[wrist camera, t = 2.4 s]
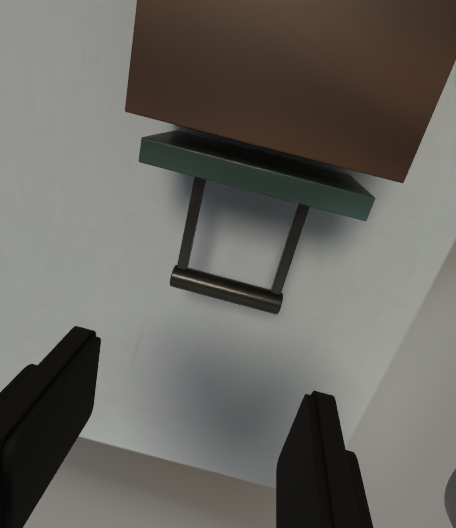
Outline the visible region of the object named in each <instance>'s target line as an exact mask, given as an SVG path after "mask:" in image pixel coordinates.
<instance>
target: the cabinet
mask: <svg viewBox="0 0 456 528" xmlns="http://www.w3.org/2000/svg"><path fill="white" fill-rule="evenodd" d="M455 60H456V0H137V7H136V16H135V25H134V34H133V43H132V52H131V61H130V70H129V79H128V88H127V97H126V106H125V111H126V112H129V113H133V114H136V115H140V116H144V117H148V118H152V119H156V120H160V121H164V122H167V123H171V124H175V125H179V126H183V127H187V128H191V129H195V130H198V131H202V132H206V133H210V134H214V135H218V136H222V137H226V138H229V139H233V140H237V141H241V142H245V143H249V144H253V145H257V146H260V147H264V148H268V149H272V150H276V151H280V152H284V153H288V154H291V155H295V156H299V157H303V158H307V159H311V160H315V161H319V162H323V163H326V164H330V165H334V166H338V167H342V168H346V169H350V170H354V171H357V172H361V173H365V174H369V175H373V176H377V177H381V178H385V179H388V180H392V181H396V182H400V183H403V182H404V180H405V178H406V176H407V173H408V171H409V168H410V166H411V164H412V161H413V159H414V157H415V154H416V152H417V150H418V147H419V145H420V143H421V140H422V138H423V136H424V133H425V131H426V128H427V126H428V124H429V121H430V119H431V117H432V114H433V112H434V110H435V107H436V105H437V103H438V100H439V98H440V95H441V93H442V91H443V88H444V86H445V84H446V81H447V79H448V77H449V74H450V72H451V70H452V67H453V65H454V63H455Z"/></svg>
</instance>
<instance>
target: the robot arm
mask: <svg viewBox="0 0 456 528" xmlns="http://www.w3.org/2000/svg"><path fill="white" fill-rule="evenodd" d="M100 344H101V339H100V338H99V337H96V332H95V331H93V330H89V329H85V328H82V327H78V326H75V327H74V328H72V329H71V330H70V332H69V333H68V334H67V335H66V336H65V337H64V338H63V339H62V340H61V341H60V342H59V343H58V344H57V345H56V346H55V348H54V349H53V350H52V351H51V352H50V353H49V354H48V355H47V356H46V357H45V358H44V359H43V360H42V361H41V362H40V364H39V365H34V364H30V365H28V366H26V367H25V368H24V369H23V370H22V371H21V372H20V373H19V374H18V375H17V376H16V377H15V378H14V379H13V380H12V381H11V382H10V383H9V384H8V385H7V386H6V387H5V388H4V389H3V390H2V391H1V392H0V528H23V526H24V525H25V523H26V521H27V520H28V518H29V516H30V515H31V513H32V511H33V510H34V508H35V506H36V505H37V503H38V502H39V500H40V498H41V497H42V495H43V493H44V492H45V490H46V488H47V487H48V485H49V483H50V481H51V480H52V479H53V477H54V475H55V474H56V472H57V470H58V469H59V467H60V465H61V464H62V462H63V461H64V459H65V457H66V456H67V454H68V452H69V451H70V449H71V447H72V446H73V444H74V442H75V441H76V439H77V438H78V436H79V434H80V433H81V431H82V429H83V428H84V426H85V424H86V423H87V421H88V419H89V418H90V415H91V413H92V410H93V406H94V397H95V388H96V379H97V371H98V362H99V353H100ZM276 518H277V519H276V528H373V525H372V521H371V516H370V512H369V507H368V503H367V499H366V495H365V490H364V485H363V481H362V477H361V472H360V468H359V464H358V460H357V457H356V455H355V453H354V452H351V451H348V450H345V445H344V440H343V435H342V431H341V426H340V421H339V416H338V411H337V406H336V401H335V397H334V396H332V395H328V394H325V393H321V392H317V391H313V392H312V394H311V395H308V394H305V396H304V398H303V400H302V403H301V405H300V407H299V410H298V412H297V415H296V417H295V420H294V422H293V424H292V427H291V429H290V432H289V434H288V437H287V439H286V441H285V444H284V446H283V449H282V451H281V454H280V456H279V459H278V463H277V471H276Z"/></svg>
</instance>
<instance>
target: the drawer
mask: <svg viewBox="0 0 456 528" xmlns="http://www.w3.org/2000/svg"><path fill="white" fill-rule="evenodd" d="M139 162H141V163H145V164H148V165H152V166H156V167H160V168H164V169H168V170H171V171H175V172H179V173H183V174H187V175H191V176H194V177H195V178H194V183H193V188H192V193H191V198H190V204H189V209H188V214H187V219H186V224H185V229H184V234H183V239H182V245H181V250H180V255H179V260H178V265H175V267H174V269H173V271H172V274H171V279H170V286H172V287H176V288H179V289H183V290H187V291H191V292H194V293H198V294H202V295H206V296H209V297H213V298H217V299H221V300H224V301H228V302H232V303H236V304H239V305H243V306H247V307H251V308H254V309H258V310H262V311H266V312H269V313H273V314H278V313H279V311H280V308H281V305H282V300H283V293H281V292H282V288H283V285H284V282H285V279H286V276H287V273H288V270H289V267H290V264H291V261H292V258H293V255H294V252H295V249H296V246H297V243H298V240H299V237H300V234H301V231H302V228H303V225H304V222H305V219H306V216H307V213H308V210H309V207H313V208H317V209H321V210H325V211H329V212H333V213H336V214H340V215H344V216H348V217H352V218H356V219H359V220H363V221H366V220H367V218H368V215H369V213H370V210H371V208H372V205H373V203H374V200H375V197H374V196H373V195H371V194H370V193H369V192H368V191H367V190H366V189H365V188H364V187H362V186H361V185H360V184H359V183H358V182H357V181H356V180H355V179H354V178H352V177H351V176H350V175H349V174H345V173H342V172H338V171H334V170H330V169H326V168H322V167H318V166H314V165H311V164H307V163H303V162H299V161H295V160H291V159H287V158H283V157H280V156H276V155H272V154H268V153H264V152H260V151H256V150H252V149H249V148H245V147H241V146H237V145H233V144H229V143H225V142H222V141H218V140H214V139H210V138H206V137H202V136H198V135H194V134H191V133H187V132H183V131H179V130H176V131H171V132H166V133H161V134H156V135H151V136H147V137H142V139H141V147H140V154H139ZM206 180H210V181H214V182H217V183H221V184H225V185H229V186H233V187H237V188H241V189H244V190H248V191H252V192H256V193H260V194H264V195H267V196H271V197H275V198H279V199H283V200H287V201H290V202H294V203H298V206H297V209H296V212H295V215H294V218H293V221H292V225H291V228H290V231H289V234H288V237H287V240H286V244H285V247H284V250H283V253H282V256H281V259H280V262H279V266H278V269H277V272H276V275H275V278H274V281H273V285H272V288H271V290H270V289H266V288H262V287H258V286H255V285H251V284H247V283H243V282H239V281H236V280H232V279H228V278H224V277H221V276H217V275H213V274H209V273H206V272H202V271H198V270H194V269H191V268H187V267H188V265H189V260H190V255H191V250H192V246H193V241H194V236H195V231H196V226H197V222H198V217H199V212H200V207H201V202H202V198H203V193H204V188H205V183H206Z"/></svg>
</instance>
